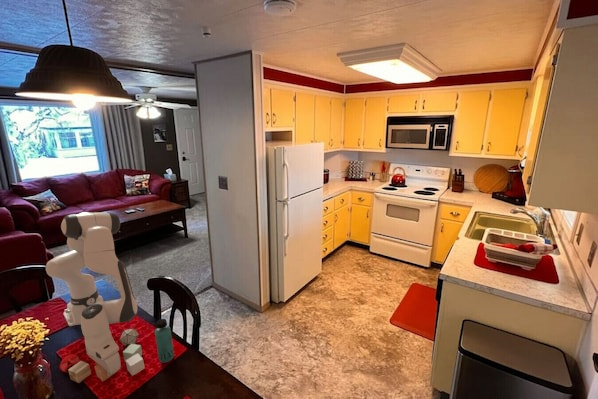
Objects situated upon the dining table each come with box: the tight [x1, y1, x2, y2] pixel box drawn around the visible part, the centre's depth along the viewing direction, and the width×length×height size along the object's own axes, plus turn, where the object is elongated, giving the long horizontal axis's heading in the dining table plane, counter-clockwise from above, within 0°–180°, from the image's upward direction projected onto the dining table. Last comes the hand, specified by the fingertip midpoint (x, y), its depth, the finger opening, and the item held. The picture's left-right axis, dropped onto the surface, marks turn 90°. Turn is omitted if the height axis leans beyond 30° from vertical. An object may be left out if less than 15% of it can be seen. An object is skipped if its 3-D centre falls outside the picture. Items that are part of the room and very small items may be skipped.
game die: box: [117, 326, 141, 348], centre depth 138 cm, size 9×8×10 cm
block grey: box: [125, 353, 146, 377], centre depth 125 cm, size 5×5×5 cm
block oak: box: [67, 360, 92, 384], centre depth 121 cm, size 5×5×5 cm
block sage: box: [122, 344, 143, 362], centre depth 131 cm, size 5×5×5 cm
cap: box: [59, 354, 81, 373], centre depth 126 cm, size 8×6×6 cm
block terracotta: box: [94, 363, 117, 382], centre depth 122 cm, size 5×5×5 cm
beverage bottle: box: [154, 318, 175, 363], centre depth 127 cm, size 6×7×20 cm
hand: (105, 371), depth 122 cm, fingers closed on block terracotta, 5 cm apart
